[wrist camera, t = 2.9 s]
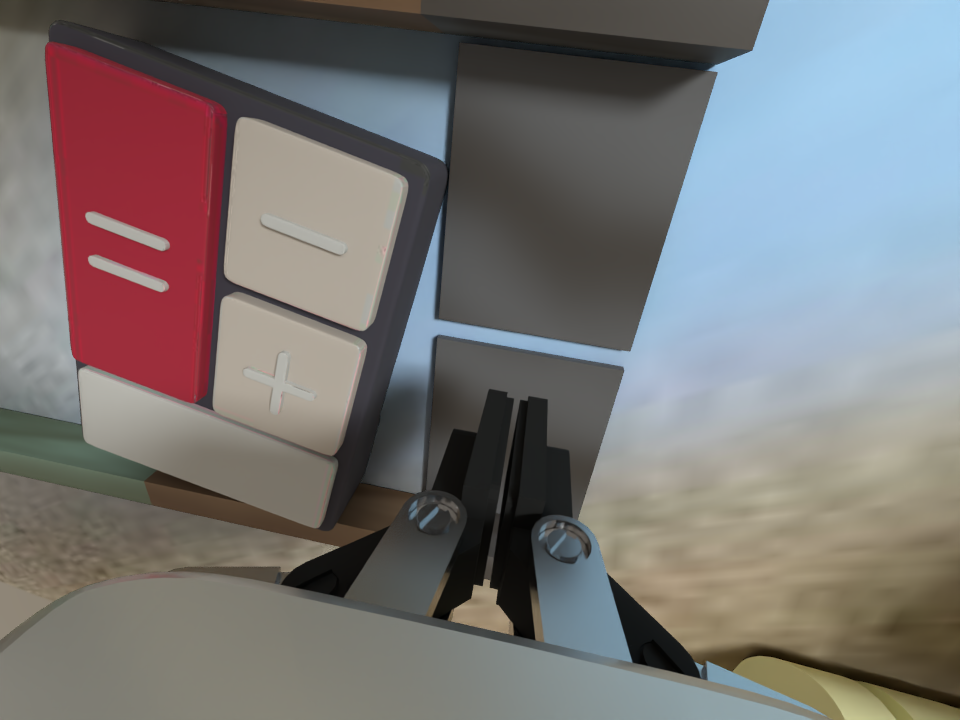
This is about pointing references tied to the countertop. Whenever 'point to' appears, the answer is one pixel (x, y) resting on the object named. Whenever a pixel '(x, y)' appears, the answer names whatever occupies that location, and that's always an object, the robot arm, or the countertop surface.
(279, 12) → the channel
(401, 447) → the countertop surface
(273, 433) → the calculator
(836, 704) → the slatted curved stool
